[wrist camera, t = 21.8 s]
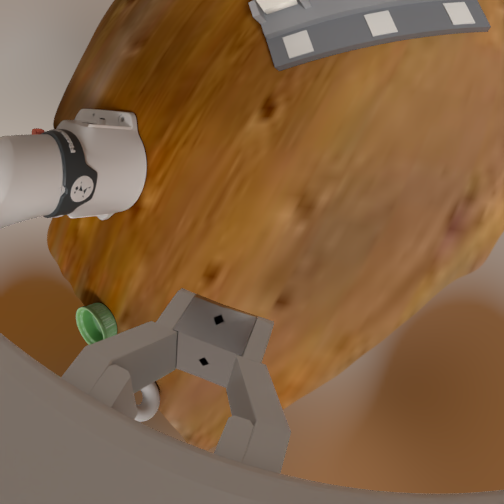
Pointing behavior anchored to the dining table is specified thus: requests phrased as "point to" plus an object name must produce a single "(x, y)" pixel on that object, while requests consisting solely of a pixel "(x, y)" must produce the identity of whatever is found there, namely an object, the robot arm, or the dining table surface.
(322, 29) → the switch panel
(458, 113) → the dining table surface
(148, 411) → the donut
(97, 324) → the ramekin
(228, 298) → the dining table surface
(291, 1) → the lever inner
